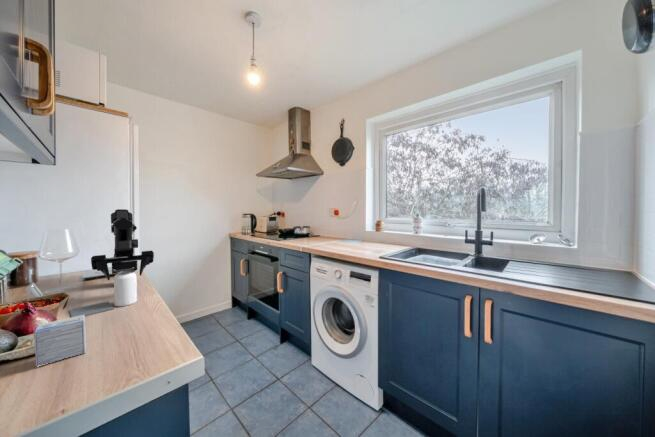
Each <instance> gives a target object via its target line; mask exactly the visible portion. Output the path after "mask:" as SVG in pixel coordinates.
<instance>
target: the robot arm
mask: <svg viewBox="0 0 655 437" xmlns="http://www.w3.org/2000/svg"><path fill="white" fill-rule="evenodd" d="M110 224H111V225H110V228H111V230H110V231H111V232H110V233H112V234H113V235H114V254H113V256H112V257H107V256H106V255H107V254H100V255H99V254H98V255H92V256H91V258H90V264H91V269H92V270H94V271H95V270H96V271H99V272H101V273H102V274H103V275H104V276H105V278H106V279H107V281H110V280H111V279H110V278H111V275H115V273H117V272H121V271H128V270H133V271H137V270H138V261H140V265H139V276H142V275H143V272H144V270H145V268H146V267H147V265H148V266H149V265H150V264H152V263H154V258H155V257H154V256H155V255H154V254H155V253H154V251H153V250H142V251H141V254H138V255H136V254H135V255H134V253H135V250H134V249H137V248H139V238H135V239H133V234H134V233H135V232H136V230H137V229H138V228H137V226H136V225H135V223H133V213H131V212H130V211H129V209H122V208H121V209H120V208H119V209H115V210H114V211H113V212H112V213H111V214H110ZM108 264H111V275H110V271H109V267H108Z"/></svg>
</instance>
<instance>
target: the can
mask: <svg viewBox="0 0 655 437" xmlns="http://www.w3.org/2000/svg"><path fill="white" fill-rule="evenodd" d="M137 281H138V280H137V274H136V272H135V271H133V270H128V271H121V272H117V273H114V276H113V293H114V294H113V296H114V306H115V307H118V308H121V307H128V306H131V305H133V304H135V303H137V301H138V285H137Z"/></svg>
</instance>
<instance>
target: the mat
mask: <svg viewBox="0 0 655 437" xmlns="http://www.w3.org/2000/svg"><path fill="white" fill-rule="evenodd" d="M114 309H115V308H114V306H113V305H112V304H111V302H109V301H103V302H98V303H95V304H89V305H84V306H79V307H77V308H72V309H69V310H68V311H69V314H70V316H71V317H76V316H80V315H85V317H88V316H92V315H96V314H100V313H103V312H108V311H112V310H114ZM71 317H70V318H71Z"/></svg>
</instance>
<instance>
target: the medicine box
mask: <svg viewBox="0 0 655 437" xmlns="http://www.w3.org/2000/svg"><path fill="white" fill-rule="evenodd" d="M86 332H87V331H86V316H85V315H80V316H76V317H67V318H62V319H58V320H54V321H50V322H45V323H44V322H43V323H41V324H38V325H37V326H36V328H35V330H34V332H33V335H34V352H35V353H34V354H35V367H36V366H38V365H42V364H46V363H51V362H54V363H56V362H55V361H57V362H59V361H58V360H61V359H64V358H67V359H69V358H68V357H71V358H73V357H72V356H74V357H76V355H77V356H80V354H81V355H83V353H84V354H86V352H87V336H86V335H87V334H86ZM64 360H65V359H64ZM61 361H62V360H61ZM51 364H52V363H51Z"/></svg>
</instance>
